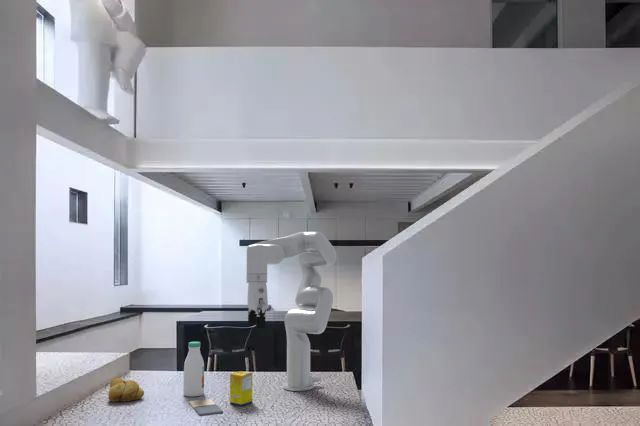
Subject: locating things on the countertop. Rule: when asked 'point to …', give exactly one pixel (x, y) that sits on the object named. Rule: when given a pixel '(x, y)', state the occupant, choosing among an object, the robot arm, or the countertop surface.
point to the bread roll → (124, 390)
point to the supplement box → (240, 388)
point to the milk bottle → (194, 371)
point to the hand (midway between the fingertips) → (256, 326)
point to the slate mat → (208, 410)
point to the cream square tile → (202, 403)
